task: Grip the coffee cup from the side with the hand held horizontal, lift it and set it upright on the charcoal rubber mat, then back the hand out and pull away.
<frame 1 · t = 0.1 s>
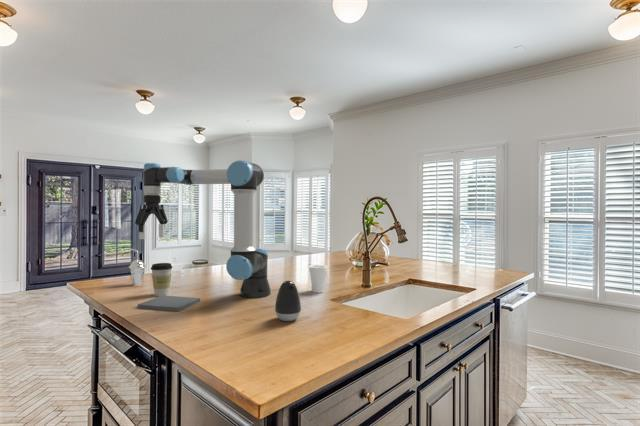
hand: (152, 238, 173), 28 cm above the table, tool pointing down, fingers open, 13 cm apart
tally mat: (170, 304, 155), on the table
black egg shaped speaker: (288, 319, 137), on the table
foam cup: (318, 291, 182), on the table
coffee cup: (161, 295, 172), on the table
cup with straw: (137, 285, 193), on the table
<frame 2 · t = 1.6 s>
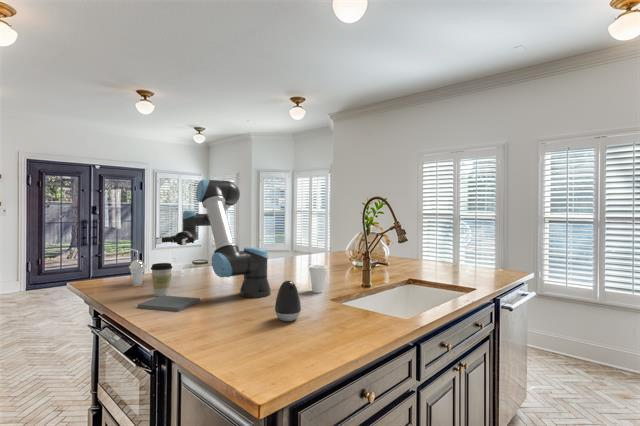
hand: (169, 241, 181), 25 cm above the table, tool horizontal, fingers open, 13 cm apart
nothing on the table moved.
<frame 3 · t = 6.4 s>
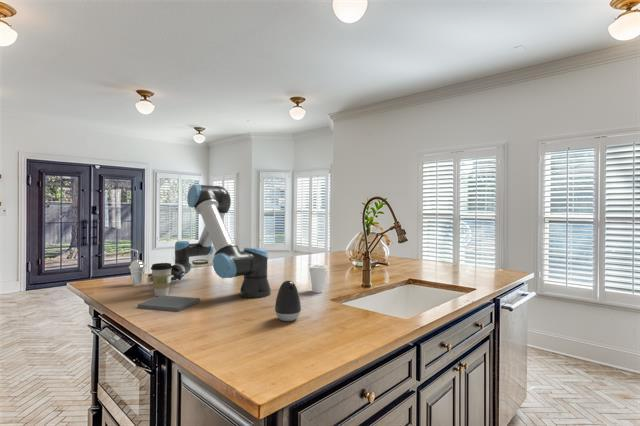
hand: (157, 280, 168), 8 cm above the table, tool horizontal, fingers closed on coffee cup, 9 cm apart
coffee cup: (161, 295, 172), on the table, touching gripper
everything else where it was.
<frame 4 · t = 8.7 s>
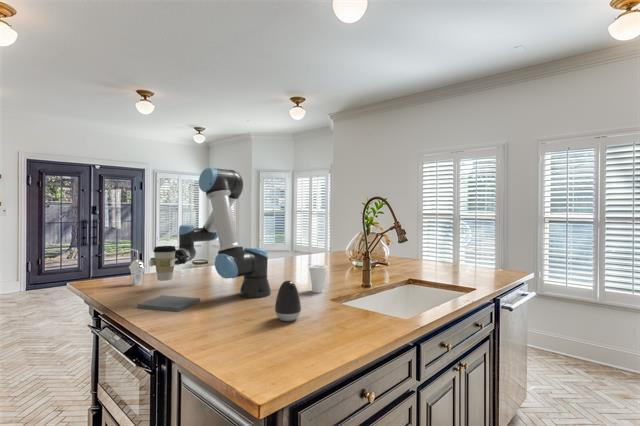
hand: (160, 263, 156), 18 cm above the table, tool horizontal, fingers closed on coffee cup, 9 cm apart
coffee cup: (164, 279, 161), point 10 cm above the table, touching gripper
everything else where it was.
when the fingers open (11 cm above the table, at t = 11.1 s): coffee cup moves 3 cm, resting on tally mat.
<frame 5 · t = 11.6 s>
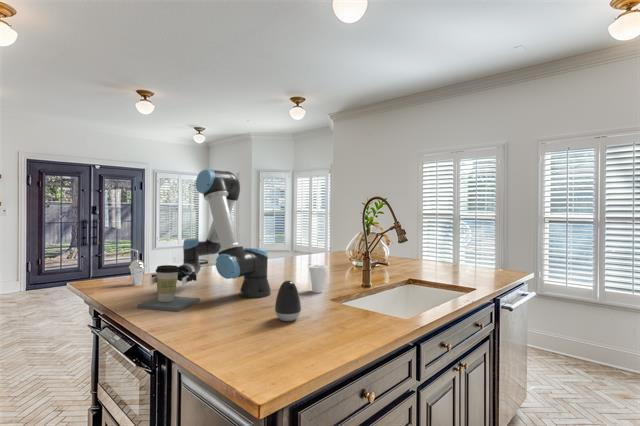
hand: (167, 281, 152), 11 cm above the table, tool horizontal, fingers open, 13 cm apart
coffee cup: (165, 300, 156), point 1 cm above the table, touching gripper, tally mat
everything else where it was.
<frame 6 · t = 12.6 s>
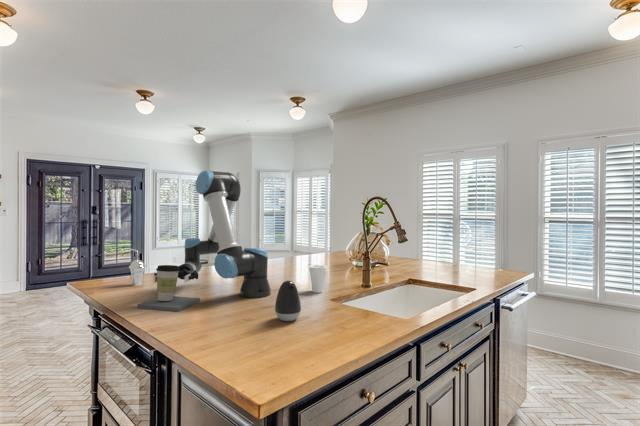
hand: (169, 279, 155), 11 cm above the table, tool horizontal, fingers open, 13 cm apart
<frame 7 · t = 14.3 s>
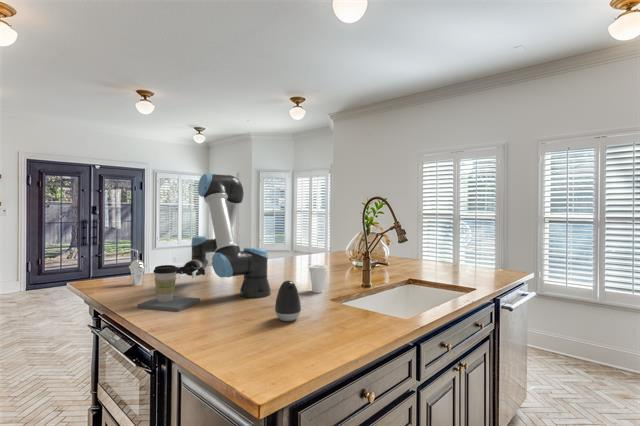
hand: (178, 275, 165), 11 cm above the table, tool horizontal, fingers open, 13 cm apart
coffee cup: (165, 300, 157), point 1 cm above the table, touching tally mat
everything else where it was.
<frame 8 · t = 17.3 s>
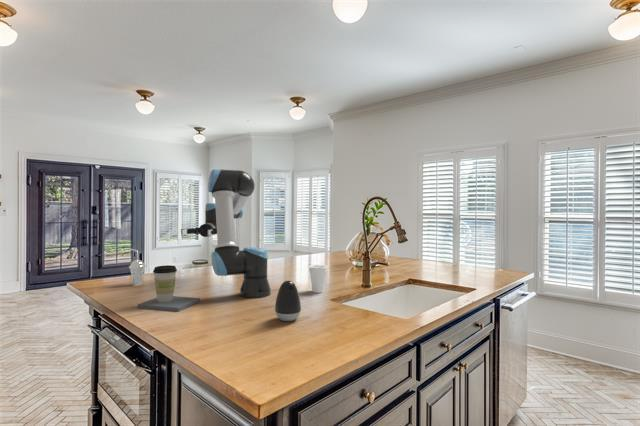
hand: (195, 232, 181), 30 cm above the table, tool horizontal, fingers open, 13 cm apart
nothing on the table moved.
at the end: coffee cup inside the target area (2.9 cm from its centre), point 1.3 cm above the table; coffee cup tilted 0°; the gripper is holding nothing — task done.
